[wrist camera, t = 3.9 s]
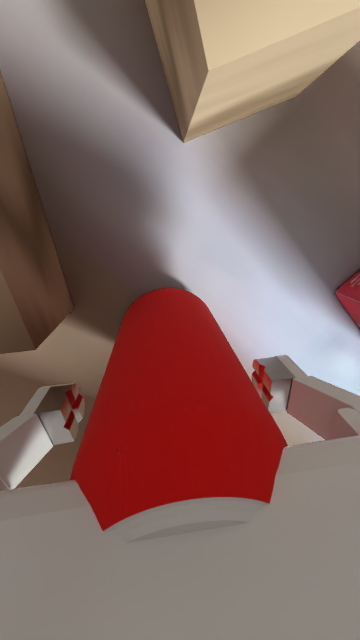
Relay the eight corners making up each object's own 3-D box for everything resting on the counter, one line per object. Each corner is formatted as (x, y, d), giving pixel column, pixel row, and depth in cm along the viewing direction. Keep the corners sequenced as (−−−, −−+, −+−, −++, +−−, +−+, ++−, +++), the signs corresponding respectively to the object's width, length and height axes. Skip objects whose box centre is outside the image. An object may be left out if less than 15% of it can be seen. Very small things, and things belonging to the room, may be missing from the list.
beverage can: (106, 333, 15) (-18, 613, 4) (159, 263, 14) (172, 436, 3) (173, 373, 17) (202, 631, 6) (227, 317, 16) (387, 537, 5)
